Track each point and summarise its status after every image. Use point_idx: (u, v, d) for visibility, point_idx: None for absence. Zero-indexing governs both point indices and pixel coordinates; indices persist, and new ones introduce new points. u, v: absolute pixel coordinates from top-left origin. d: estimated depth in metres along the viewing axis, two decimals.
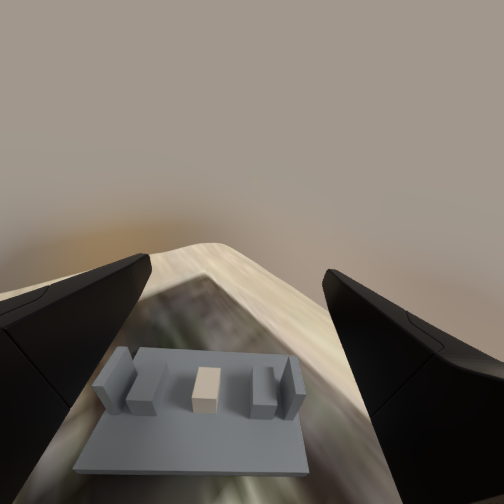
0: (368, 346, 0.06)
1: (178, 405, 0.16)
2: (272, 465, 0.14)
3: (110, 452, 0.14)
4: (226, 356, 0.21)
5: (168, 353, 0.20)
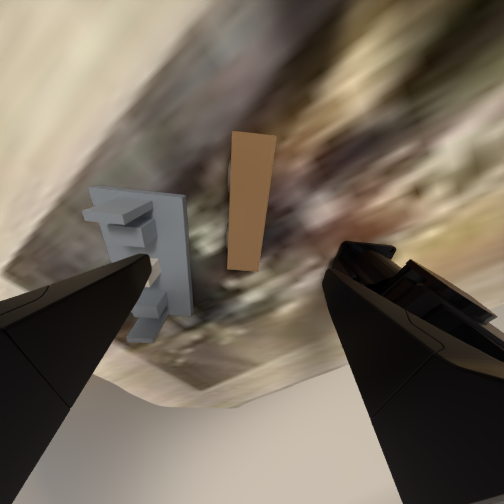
0: (368, 346, 0.06)
1: (158, 281, 0.23)
2: (180, 223, 0.19)
3: (184, 305, 0.25)
4: (113, 252, 0.21)
5: None
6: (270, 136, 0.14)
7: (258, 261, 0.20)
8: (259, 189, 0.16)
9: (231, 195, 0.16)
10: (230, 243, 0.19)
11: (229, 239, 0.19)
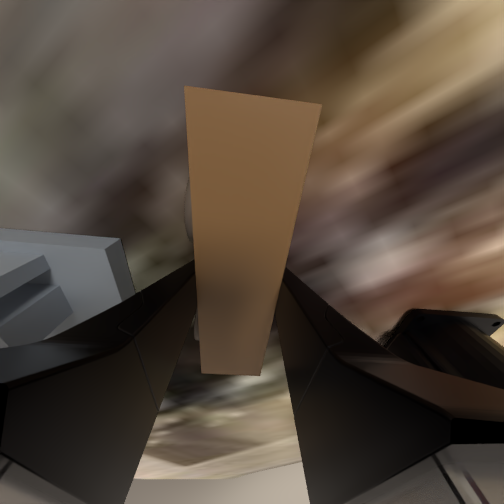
0: (293, 342, 0.06)
1: None
2: (113, 292, 0.10)
3: None
4: None
5: None
6: (302, 105, 0.05)
7: (260, 363, 0.10)
8: (267, 243, 0.07)
9: (198, 257, 0.07)
10: (204, 338, 0.09)
11: (201, 332, 0.09)
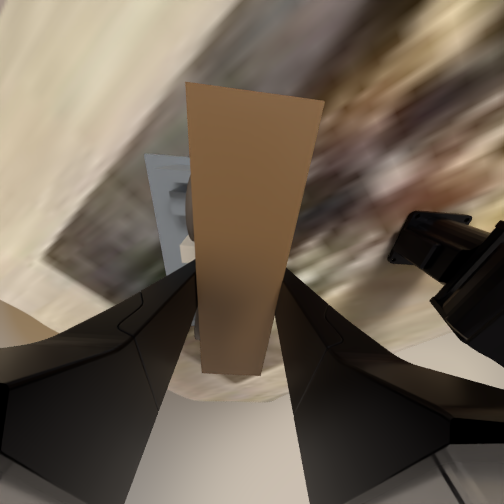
0: (293, 342, 0.06)
1: None
2: None
3: None
4: (162, 229, 0.20)
5: None
6: (305, 102, 0.05)
7: (261, 362, 0.10)
8: (268, 242, 0.07)
9: (199, 255, 0.07)
10: (204, 338, 0.09)
11: (201, 332, 0.09)
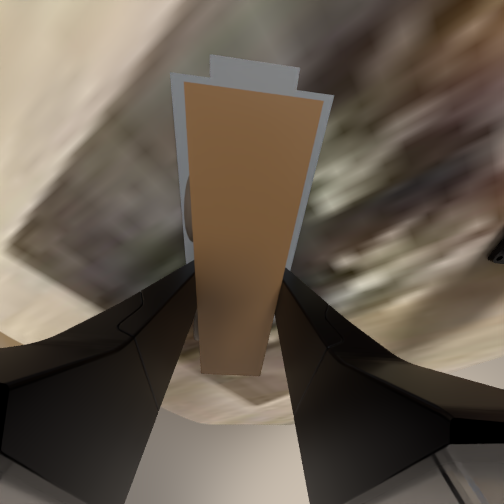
0: (293, 342, 0.06)
1: None
2: (314, 150, 0.11)
3: None
4: None
5: None
6: (304, 102, 0.05)
7: (260, 363, 0.10)
8: (267, 242, 0.07)
9: (197, 256, 0.07)
10: (203, 338, 0.09)
11: (201, 332, 0.09)
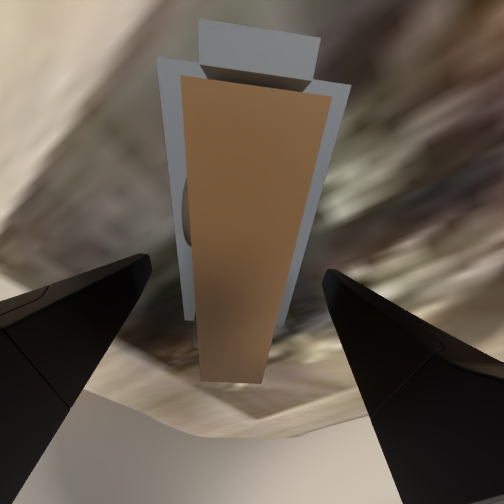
0: (368, 346, 0.06)
1: None
2: (326, 150, 0.10)
3: None
4: (181, 214, 0.12)
5: (188, 292, 0.15)
6: (311, 98, 0.04)
7: (262, 370, 0.10)
8: (270, 247, 0.06)
9: (196, 261, 0.06)
10: (202, 346, 0.09)
11: (200, 340, 0.09)
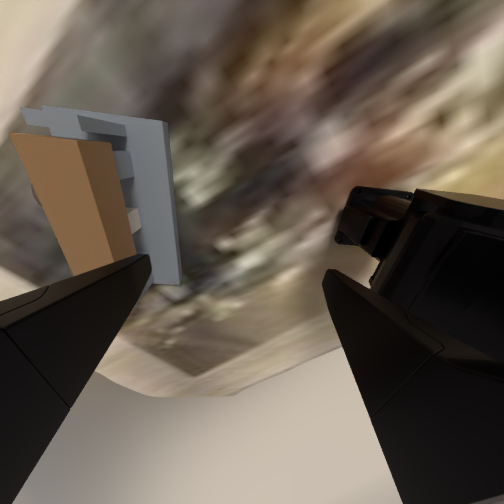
0: (368, 346, 0.06)
1: (139, 239, 0.20)
2: (162, 158, 0.16)
3: (171, 271, 0.22)
4: None
5: None
6: (67, 141, 0.10)
7: None
8: (84, 209, 0.12)
9: (49, 218, 0.12)
10: None
11: (73, 270, 0.14)
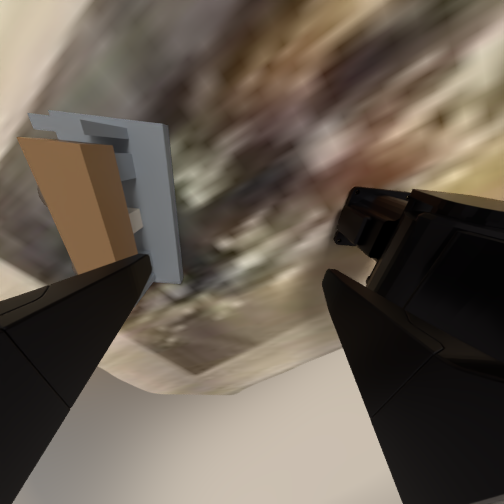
0: (368, 346, 0.06)
1: (140, 238, 0.20)
2: (162, 160, 0.16)
3: (172, 270, 0.22)
4: None
5: None
6: (71, 144, 0.11)
7: None
8: (87, 210, 0.13)
9: (54, 218, 0.13)
10: (79, 272, 0.15)
11: (76, 268, 0.15)
